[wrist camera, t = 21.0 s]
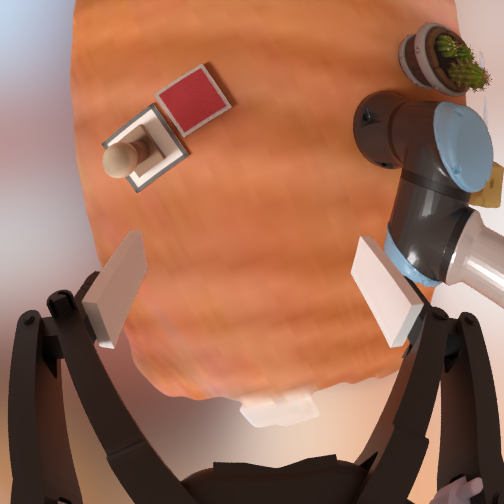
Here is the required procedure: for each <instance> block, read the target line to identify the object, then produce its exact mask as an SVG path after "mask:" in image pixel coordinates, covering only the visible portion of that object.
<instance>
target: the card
mask: <svg viewBox="0 0 504 504" xmlns="http://www.w3.org/2000/svg"><path fill="white" fill-rule="evenodd" d="M139 124H143V125H144V126H145V128H146V129H147V131H148V132H149V134H150V135H151V136H152V138H153V139H154V141H155V142H156V144H157V145H158V146H159V148H160V149H161V151H162V152H163V154H164V155H165V156H166V158H165V159H164V160H162V161H161V162H160V163H158V164H157V165H155V166H154V167H153V168H151V169H150V170H149V171H147V172H146V173H145V174H144V175H142V176H141V177H140V178H139V177H138V176H137V174H136V173H135V172H134V171H133V172H132V173H131V174H130V175H129V176H127V177H125V178H126V179H127V180H128V182H129V183H130V184H131V186H132V187H133V188H134V190H135V191H136V192H137V193H138V192H140V191H141V190H142V189H144V188H145V187H146V186H147V185H149V184H150V183H151V182H153V181H154V180H155V179H157V178H158V177H159V176H161V175H162V174H164V173H165V172H166V171H168V170H169V169H171V168H172V167H173V166H175V165H176V164H178V163H179V162H180V161H182V160H183V159H185V158H186V157H188V156H189V154H188V153H187V151H186V150H185V148H184V147H183V145H182V144H181V143H180V141H179V140H178V138H177V137H176V135H175V134H174V132H173V131H172V130H171V128H170V127H169V125H168V124H167V122H166V121H165V119H164V118H163V117H162V115H161V114H160V112H159V111H158V109H157V108H156V107H155V105H154V104H153V103H152V104H151V105H150V106H148V107H147V108H146V109H144V110H143V111H142V112H140V113H139V114H138V115H136V116H135V117H134V118H132V119H131V120H130V121H129V122H127V123H126V124H125V125H124V126H122V127H121V128H120V129H119V130H118V131H116V132H115V133H114V134H113V135H112V136H111V137H109V138H108V139H107V140H106V141H105V142H104V143H103V144H102V145H103V147H104V148H105V150H107V148H108V147H109V146H111V145H112V144H114V143H117V142H118V141H119V140H121V139H122V138H123V137H124V136H125V135H127V134H128V133H129V132H130V131H132V130H133V129H134V128H135V127H137V126H138V125H139Z"/></svg>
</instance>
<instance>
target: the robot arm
mask: <svg viewBox="0 0 504 504" xmlns="http://www.w3.org/2000/svg"><path fill="white" fill-rule="evenodd" d="M353 132H354V137H355V141H356V144H357V146H358V148H359V150H360V152H361V153H362V154H363V156H364V157H365V158H366V159H367V160H368V161H370V162H371V163H373V164H375V165H377V166H380V167H383V168H386V169H398V168H402V173H401V177H400V181H399V185H398V190H397V194H396V198H395V202H394V206H393V210H392V214H391V217H390V221H389V222H388V224H387V234H386V238H385V242H384V250H385V253H386V254H385V253H384V251H383V250H382V249H381V248H380V247H379V245H378V244H377V243H376V242H375V241H374V239H373V238H372V237H371V236H360V239H359V243H358V247H357V251H356V255H355V259H354V263H353V267H352V270H351V275H352V276H353V278H354V280H355V282H356V283H357V285H358V287H359V289H360V291H361V292H362V294H363V296H364V298H365V300H366V302H367V303H368V305H369V307H370V309H371V311H372V313H373V315H374V316H375V318H376V320H377V322H378V324H379V326H380V328H381V330H382V332H383V334H384V336H385V338H386V340H387V342H388V344H389V346H390V348H392V347H399V346H403V344H404V342H405V340H406V339H407V338H408V339H409V341H410V344H409V346H408V347H407V349H406V351H405V353H404V354H403V356H402V358H404V359H403V362H402V365H401V368H400V370H399V373H398V376H397V378H396V381H395V384H394V386H393V389H392V391H391V394H390V396H389V398H388V401H387V403H386V405H385V408H384V410H383V412H382V414H381V416H380V418H379V421H378V423H377V425H376V427H375V429H374V431H373V433H372V435H371V437H370V439H369V441H368V443H367V444H366V446H365V448H364V450H363V452H362V453H361V455H360V456H359V457H358V459H357V460H356V461H355V462H354V463H350V462H347V461H341V460H337V457H336V454H333V455H327V456H321V457H314V458H307V459H304V460H302V461H299V462H296V463H293V464H290V465H287V466H284V467H281V468H271V467H265V466H259V465H254V464H248V463H221V462H214V463H213V468H208V469H204V470H201V471H198V472H196V473H193V474H191V475H190V476H188V477H186V478H185V479H184V480H182V481H181V482H180V481H179V480H178V479H177V477H176V476H175V475H174V474H173V472H172V471H171V470H170V469H169V468H168V466H167V465H166V464H165V463H164V461H163V460H162V459H161V457H160V456H159V455H158V454H157V452H156V451H155V450H154V448H153V447H152V445H151V444H150V442H149V441H148V439H147V438H146V437H145V435H144V434H143V432H142V431H141V429H140V428H139V426H138V425H137V423H136V422H135V420H134V418H133V417H132V415H131V414H130V412H129V410H128V409H127V407H126V406H125V404H124V402H123V400H122V399H121V397H120V395H119V394H118V392H117V390H116V388H115V386H114V385H113V383H112V381H111V379H110V377H109V375H108V373H107V371H106V369H105V368H104V365H103V363H102V361H101V359H100V357H99V355H98V353H97V351H96V349H95V347H94V343H95V340H96V339H97V341H98V343H99V345H100V347H106V348H115V345H116V342H117V340H118V337H119V335H120V332H121V330H122V327H123V325H124V323H125V320H126V318H127V315H128V313H129V310H130V308H131V306H132V303H133V301H134V299H135V297H136V294H137V292H138V290H139V287H140V285H141V283H142V281H143V279H144V276H145V274H146V272H147V270H148V269H147V263H146V257H145V250H144V244H143V237H142V230H130V231H129V232H128V233H127V235H126V236H125V238H124V239H123V240H122V242H121V243H120V244H119V246H118V247H117V249H116V250H115V251H114V253H113V254H112V256H111V257H110V259H109V260H108V261H107V263H106V264H105V266H104V267H103V269H102V270H101V272H96V271H95V272H93V273H92V274H91V275H90V276H88V278H87V279H86V280H85V282H84V284H83V285H82V286H81V288H80V290H79V291H78V292H77V294H76V295H75V297H73V294H72V293H71V292H70V291H68V290H60V291H57V292H55V293H53V294H52V295H50V296H49V298H48V299H47V306H48V309H49V310H50V313H51V315H52V317H46V318H41V316H40V314H39V312H38V311H36V310H29V311H27V312H25V313H23V314H22V315H21V316H20V318H19V320H18V323H17V328H16V333H15V339H14V345H13V352H12V360H11V369H10V380H9V396H8V432H9V433H8V434H9V451H10V461H11V468H12V476H13V483H12V492H11V504H83V502H82V496H81V492H80V487H79V484H78V480H77V476H76V472H75V468H74V464H73V460H72V455H71V450H70V445H69V439H68V434H67V427H66V420H65V412H64V403H63V393H62V379H61V359H63V358H65V361H66V364H67V367H68V370H69V372H70V375H71V378H72V381H73V383H74V386H75V388H76V391H77V393H78V396H79V398H80V400H81V403H82V405H83V408H84V410H85V412H86V414H87V416H88V418H89V420H90V423H91V425H92V426H93V429H94V431H95V433H96V435H97V436H98V439H99V441H100V442H101V444H102V446H103V448H104V450H105V452H106V454H107V461H108V463H109V465H110V467H111V469H112V470H113V472H114V473H115V475H116V477H117V478H118V480H119V481H120V483H121V484H122V486H123V487H124V489H125V490H126V492H127V493H128V495H129V496H130V497H131V499H132V500H133V502H134V503H135V504H414V503H413V502H411V501H410V500H408V499H407V497H408V495H409V493H410V491H411V489H412V487H413V484H414V482H415V480H416V477H417V475H418V472H419V470H420V467H421V465H422V462H423V459H424V456H425V454H426V451H427V448H428V444H429V439H427V438H425V434H426V431H427V428H428V425H429V421H430V418H431V415H432V411H433V407H434V404H435V400H436V395H437V391H438V387H439V382H440V381H441V437H440V452H439V462H438V473H437V493H436V495H435V497H434V499H433V500H431V502H430V503H429V504H504V462H503V458H502V455H501V437H500V424H499V413H498V405H497V398H496V392H495V386H494V380H493V375H492V370H491V366H490V361H489V357H488V353H487V349H486V345H485V341H484V338H483V334H482V330H481V327H480V324H479V322H478V319H477V318H476V317H475V316H474V315H473V314H471V313H468V312H462V313H461V314H460V316H459V318H458V319H453V318H449V316H448V315H447V313H446V312H445V311H444V310H442V309H440V308H437V307H432V306H431V305H430V303H429V302H428V301H427V299H426V298H425V297H424V295H423V294H422V293H421V291H420V290H419V289H418V288H417V286H416V285H415V283H414V282H416V283H419V282H420V283H421V284H422V285H423V286H427V287H436V286H438V285H439V284H440V283H442V282H444V283H445V284H447V285H452V284H455V283H458V282H464V283H465V284H467V285H468V286H470V287H471V288H473V289H475V290H476V291H478V292H479V293H481V294H482V295H484V296H486V297H487V298H488V299H490V300H491V301H493V302H494V303H496V304H497V305H499V306H500V307H502V308H503V309H504V236H502V235H500V234H498V233H496V232H494V231H493V230H491V229H489V228H487V227H486V226H485V225H484V224H483V221H482V218H481V216H480V213H479V212H478V211H477V210H475V209H473V208H471V207H469V201H470V197H471V193H473V192H478V191H480V190H481V189H483V188H484V187H485V182H488V180H489V178H490V175H491V172H492V167H493V146H492V141H491V137H490V135H489V132H488V129H487V126H486V124H485V123H484V121H483V120H482V118H481V117H480V116H479V115H478V113H476V112H475V111H474V110H473V109H471V108H470V107H467V106H464V105H459V104H455V103H452V102H448V101H445V102H433V101H411V100H409V99H407V98H405V97H403V96H401V95H399V94H397V93H394V92H376V93H373V94H370V95H368V96H367V97H366V98H364V99H363V100H362V102H361V103H360V104H359V106H358V108H357V110H356V112H355V116H354V121H353ZM403 275H404V276H403ZM413 281H414V282H413Z"/></svg>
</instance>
